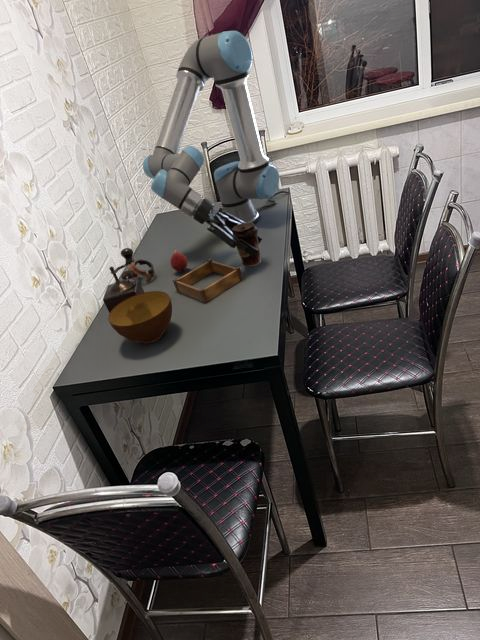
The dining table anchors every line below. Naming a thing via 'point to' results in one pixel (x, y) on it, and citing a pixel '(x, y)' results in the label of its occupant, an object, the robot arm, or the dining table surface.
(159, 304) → the bowl
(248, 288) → the dining table surface
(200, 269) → the wooden frame
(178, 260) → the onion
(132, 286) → the manual coffee grinder
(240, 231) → the coffee cup
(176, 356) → the dining table surface
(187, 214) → the robot arm
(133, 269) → the pottery mug
